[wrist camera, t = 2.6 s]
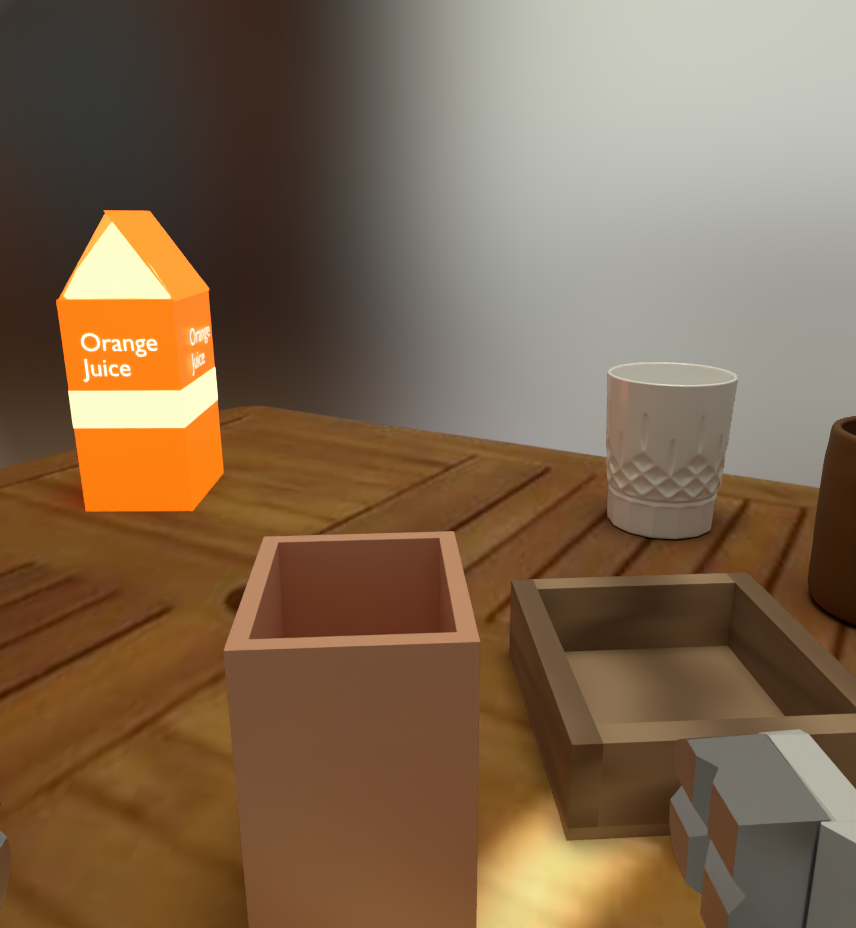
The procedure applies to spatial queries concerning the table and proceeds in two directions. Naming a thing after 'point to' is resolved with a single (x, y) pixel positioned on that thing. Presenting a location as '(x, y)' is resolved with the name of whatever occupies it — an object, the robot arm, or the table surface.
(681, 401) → the white cup
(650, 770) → the large crate
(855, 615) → the mug
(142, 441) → the orange juice
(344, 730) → the pink square pot
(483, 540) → the table surface
